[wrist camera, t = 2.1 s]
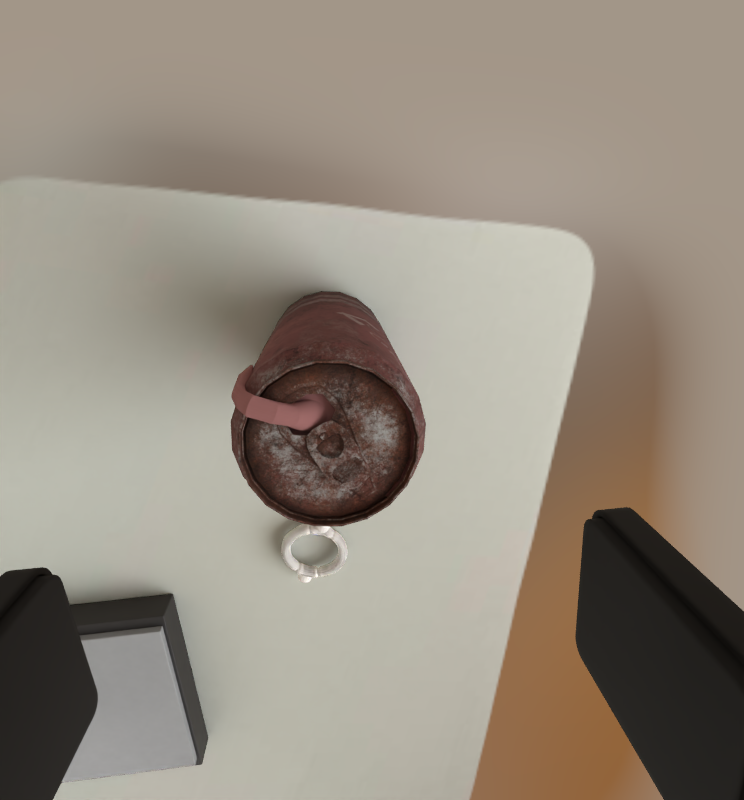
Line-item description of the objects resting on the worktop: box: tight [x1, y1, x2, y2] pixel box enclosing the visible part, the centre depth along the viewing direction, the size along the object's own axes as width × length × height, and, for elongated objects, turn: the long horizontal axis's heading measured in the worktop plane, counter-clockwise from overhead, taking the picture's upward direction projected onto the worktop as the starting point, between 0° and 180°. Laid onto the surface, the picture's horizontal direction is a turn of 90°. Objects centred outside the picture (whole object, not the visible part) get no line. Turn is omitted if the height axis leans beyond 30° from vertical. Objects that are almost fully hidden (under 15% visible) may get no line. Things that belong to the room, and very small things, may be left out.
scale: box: [61, 594, 208, 783], centre depth 33 cm, size 15×13×2 cm
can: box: [231, 291, 426, 526], centre depth 21 cm, size 6×6×14 cm
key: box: [281, 524, 348, 583], centre depth 31 cm, size 12×1×4 cm
